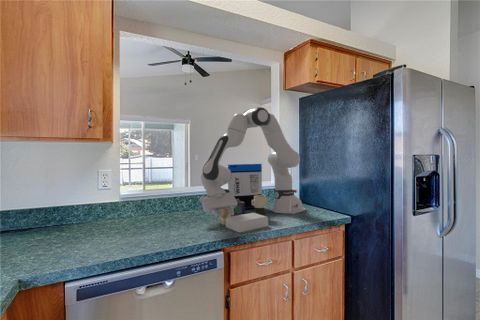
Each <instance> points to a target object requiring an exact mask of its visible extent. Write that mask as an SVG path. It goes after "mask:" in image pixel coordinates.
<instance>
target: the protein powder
mask: <svg viewBox="0 0 480 320" xmlns="http://www.w3.org/2000/svg"><path fill="white" fill-rule="evenodd" d="M262 166H263V165H262V163H251V164H250V163H247V164H246V163H242V164H227V168H228V169H230V171H231V179H230V180H229V181H228V182H227V190H231V194H232V195H233V196H234V197H235V199H239V201H240V202H242V201H243V202H244V203H245V211H251V210H256V207H254V206H252V200H254V196H255V195H263V192H262V190H263V188H262V187H263V184H262V183H263V180H262V179H263V172H262V171H263V170H262V169H263V167H262ZM236 201H237V200H236ZM253 204H254V201H253Z"/></svg>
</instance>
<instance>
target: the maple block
mask: <svg viewBox="0 0 480 320" xmlns="http://www.w3.org/2000/svg"><path fill="white" fill-rule="evenodd" d="M218 211H219V212H218V214H219V217H218V218H219V219H218V220H219V224H220V225H223V226H226V218H227V217H231V216H230V209H228V208H220V209H219V210H218Z"/></svg>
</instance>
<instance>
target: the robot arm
mask: <svg viewBox="0 0 480 320" xmlns="http://www.w3.org/2000/svg"><path fill="white" fill-rule="evenodd" d="M257 127H260V128H261V130H262V133H263V135H264V139H265V141H266V143H267V146H269V148H271V150H272V151H270V153H268V156H267V162H268V163H269V165H270V166H271V168H272V172H273V177H274V188H273V196H274V198H273V207H272V210H271V211H272V212H273V213H277V214H290V215H291V214H293V215H294V214H298V213H301V212H305V211H306V210H307V208H305V207H304V206H303V203H302V200H301V199H300V198H299V197H297V195H295V194H296V193H297V192H298V190H297V189H293V177H292V175H291V174H290V172H289V170H288V169H291V168H295V167H297V166H298V165H299V164H300V161H301V157H300V153H298V152H297V151H296V150H294V149H293V148H292V147H291V145H290V144H289V143H288V141H287V140H286V138H285V135H284V133H283V131H282V128H281V125H280V123H279V121H278V119H277V118H276V116H275V115H274V114H272V113H269V111H268V110H267V109H266V108H264V107H259V106H257V107H254V108H250V109H248V110H245V111H244V112H243V113H239V112H238V113H235V114H234V115H232V117H231V119H230V121H229V123H228V125H227V129H226V130H225V133H224V134H223V135H222V136H220V137H219V138H218V140H217V141H216V143H215V146H214V147H213V150H212V152H210V153H211V154H210V155H209V157H208V159H207V160H206V162H205V164H204V165H203V167H202V173H201V175H200V180H201V183H202V186H203V189H204V190H205V193H206V195H202V196H201V197H200V198H199V201H200V203H201V206H202V209H203V211H204V212H205V213H211V215H213V216H214V217H215V218H219V212H218V211H219V209H220V208H228V209H230V210H231V211H230V215H233V214H234V212H233V208H235V207H236V206H237V201H236V199H235V197H234V196H233V195H232V194H231V190H228V188H227V189H226V188H222V186H224V185H226V184H228V181H229V180H230V179H231V171H230V169H228V167H226V166H224V165H221V164H220V161H221V159H222V157H223V156H224V153H225V151H226V150H227V149H228V148H236V147H239V146H240V145H242V143H243V141H244V139H245V136H246V133H247V130H248V129H251V128H257ZM216 211H217V212H216Z"/></svg>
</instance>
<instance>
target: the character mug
mask: <svg viewBox="0 0 480 320" xmlns="http://www.w3.org/2000/svg"><path fill="white" fill-rule="evenodd" d="M253 201H254V204H253ZM268 204H269V198H267V195H265V194H262V195H255V196H254V200H252V206H254V207H256V209H254V210H255V212H254V213H256V214H260V215H263V216H266V209H265V208H267V205H268ZM266 217H267V216H266Z"/></svg>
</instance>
